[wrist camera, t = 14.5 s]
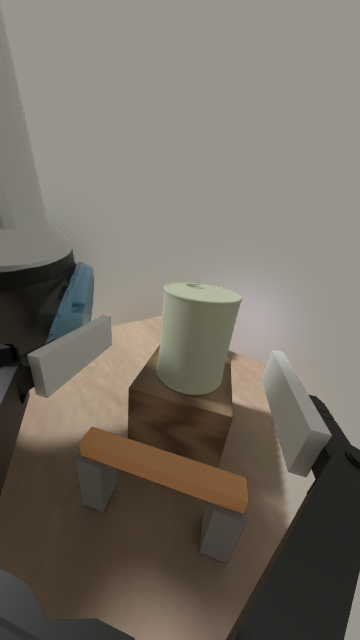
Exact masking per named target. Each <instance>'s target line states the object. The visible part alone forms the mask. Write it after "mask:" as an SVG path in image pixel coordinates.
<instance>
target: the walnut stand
mask: <svg viewBox="0 0 360 640" xmlns="http://www.w3.org/2000/svg"><path fill="white" fill-rule="evenodd" d="M159 349H160V345H159V347H158V348H157V350H156V351H155V352H154V354H153V355H152V357H151V358H150V359H149V361H148V362H147V364H146V365H145V366H144V368H143V369H142V371H141V372H140V373H139V375H138V376H137V377H136V379H135V380H134V382H133V383H132V384H131V386H130V387H129V405H128V439H131V440H134V441H137V442H140V443H143V444H146V445H149V446H152V447H155V448H158V449H161V450H164V451H167V452H170V453H173V454H176V455H179V456H182V457H185V458H188V459H191V460H194V461H197V462H200V463H204V464H207V465H210V466H213V467H216V468H217V467H218V464H219V461H220V457H221V454H222V451H223V448H224V444H225V441H226V438H227V434H228V431H229V428H230V425H231V421H232V418H233V411H232V386H231V361H230V357H226V361H225V365H224V370H223V378H222V382H221V384H220V386H219V387H218V388H217V389H216V390H214V391H213V392H210V393H208V394H204V395H187V394H183V393H179V392H176V391H174V390H172V389H170V388H169V387H167V386H166V385H165V384H164V383H163V382H162V381H161V380H160V379H159V377H158V375H157V370H156V368H157V364H158V358H159Z"/></svg>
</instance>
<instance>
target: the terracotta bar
mask: <svg viewBox="0 0 360 640" xmlns="http://www.w3.org/2000/svg"><path fill="white" fill-rule="evenodd" d="M79 445H80V453H81V455H82V456H84V457H87V458H90V459H93V460H95V461H98V462H101V463H104V464H106V465H109V466H112V467H115V468H117V469H120V470H123V471H126V472H128V473H131V474H134V475H137V476H139V477H142V478H145V479H148V480H150V481H153V482H156V483H159V484H161V485H164V486H167V487H170V488H172V489H175V490H178V491H180V492H183V493H186V494H189V495H191V496H194V497H197V498H200V499H202V500H205V501H208V502H211V503H213V504H216V505H219V506H222V507H224V508H227V509H230V510H233V511H235V512H238V513H241V514H244V512H245V510H246V507H247V505H248V503H249V501H248V490H247V478H246V477H243V476H240V475H237V474H234V473H231V472H228V471H225V470H222V469H219V468H216V467H213V466H210V465H207V464H204V463H200V462H197V461H194V460H191V459H188V458H185V457H182V456H179V455H176V454H173V453H170V452H167V451H164V450H161V449H158V448H155V447H152V446H149V445H146V444H143V443H140V442H137V441H134V440H131V439H128V438H125V437H122V436H119V435H115V434H112V433H109V432H106V431H103V430H100V429H97V428H94V427H91V428H90V430H89V431H88V432H87V434H86V435H85V436H84V437H83V439H82V440H81V441H80V443H79Z"/></svg>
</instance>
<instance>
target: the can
mask: <svg viewBox="0 0 360 640" xmlns="http://www.w3.org/2000/svg"><path fill="white" fill-rule="evenodd" d="M241 301H242V297H241V296H240V295H239V294H237V293H235V292H233V291H230V290H227V289H224V288H220V287H216V286H210V285H205V284H199V283H170V284H167V285H165V286H164V301H163V314H162V326H161V338H160V349H159V358H158V364H157V368H156V370H157V375H158V377H159V379H160V380H161V381H162V382H163V383H164V384H165V385H166V386H167V387H169V388H170V389H172V390H174V391H176V392H179V393H183V394H187V395H204V394H208V393H210V392H213V391H214V390H216V389H217V388H218V387H219V386H220V384H221V382H222V378H223V370H224V365H225V361H226V357H227V353H228V348H229V345H230V341H231V337H232V333H233V329H234V325H235V321H236V317H237V313H238V310H239V306H240V303H241Z"/></svg>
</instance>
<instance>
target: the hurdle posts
mask: <svg viewBox="0 0 360 640" xmlns="http://www.w3.org/2000/svg"><path fill="white" fill-rule="evenodd" d="M76 466H77V472H78V479H79V486H80V492H81V499H82V504H85V505H87V506H89V507H92V508H94V509H97V510H99V511H101V512H104V510H105V508H106V506H107V504H108V502H109V500H110V498H111V495H112V493H113V491H114V489H115V487H116V485H117V471H116V468H115V467H112V466H109V465H106V464H104V463H101V462H98V461H95V460H93V459H90V458H87V457H84V456H82V455H81V453H80V454H79V455H78V456H77V458H76ZM246 523H247V522H246V510H245V512H244V514H241V513H238V512H235V511H233V510H230V509H227V508H224V507H222V506H219V505H216V504H213V503H211V502H208V501H207V504H206V507H205V511H204V514H203V518H202V529H201V540H200V553H202V554H205V555H207V556H210V557H212V558H214V559H217V560H219V561H222V562H224V563H226V564H227V562H228V560H229V557H230V555H231V553H232V551H233V549H234V547H235V545H236V543H237V541H238V539H239V537H240V535H241V533H242V531H243V529H244V527H245V525H246Z"/></svg>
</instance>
